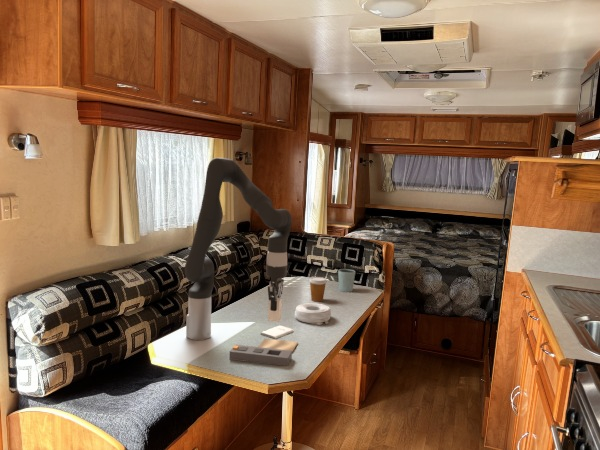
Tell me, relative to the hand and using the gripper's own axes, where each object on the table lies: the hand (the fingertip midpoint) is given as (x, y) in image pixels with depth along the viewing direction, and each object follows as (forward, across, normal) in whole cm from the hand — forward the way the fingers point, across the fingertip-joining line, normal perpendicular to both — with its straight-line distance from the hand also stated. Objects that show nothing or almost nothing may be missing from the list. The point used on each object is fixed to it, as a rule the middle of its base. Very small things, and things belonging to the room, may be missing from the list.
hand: (275, 308), depth 171 cm
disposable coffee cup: (+19, -82, +2) cm, 84 cm away
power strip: (+19, +3, -4) cm, 20 cm away
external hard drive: (+20, -26, -6) cm, 33 cm away
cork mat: (+19, -11, -1) cm, 22 cm away
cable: (+19, -50, +5) cm, 54 cm away
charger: (+4, 0, 0) cm, 4 cm away
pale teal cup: (+19, -109, +14) cm, 112 cm away
